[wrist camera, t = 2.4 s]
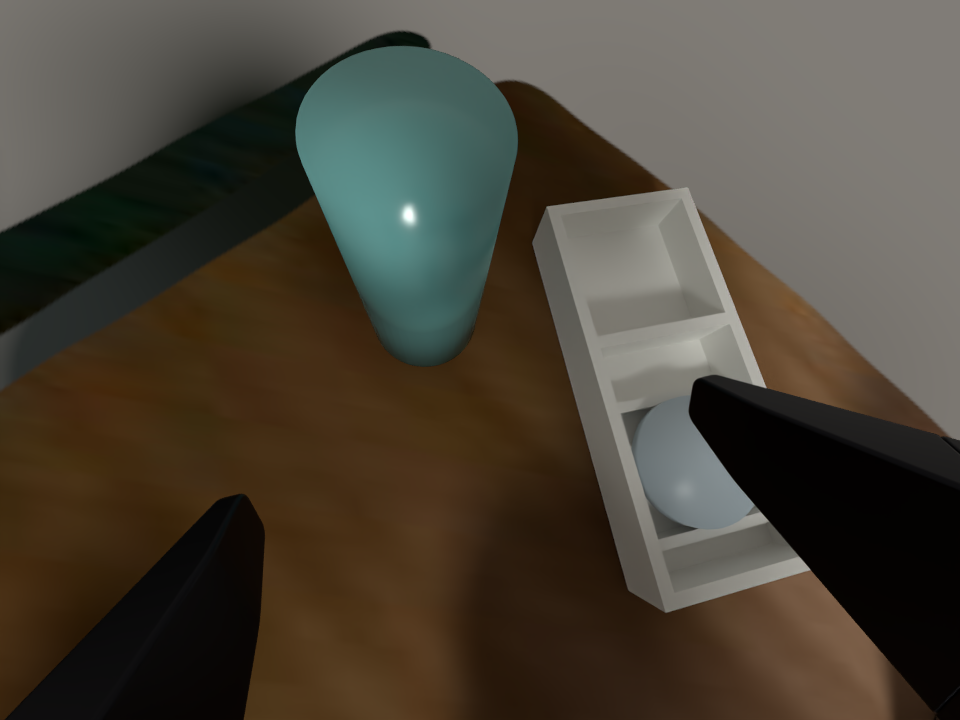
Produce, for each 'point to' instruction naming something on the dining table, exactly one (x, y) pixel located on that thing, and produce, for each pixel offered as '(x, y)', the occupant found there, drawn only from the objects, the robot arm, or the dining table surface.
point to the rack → (656, 391)
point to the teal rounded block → (411, 189)
